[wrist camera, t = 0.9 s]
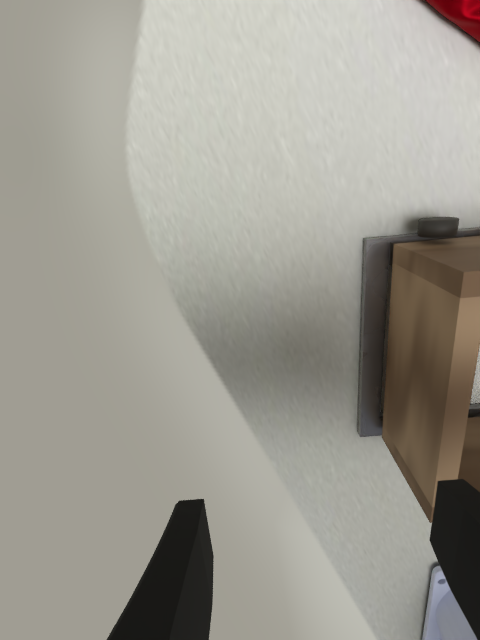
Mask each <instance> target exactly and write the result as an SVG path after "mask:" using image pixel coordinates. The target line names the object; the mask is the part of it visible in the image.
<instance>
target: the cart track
mask: <svg viewBox="0 0 480 640" xmlns="http://www.w3.org/2000/svg"><path fill="white" fill-rule="evenodd" d="M471 236H480V227H479V228H468V229H458V231H457V235H456V236H453V237H445V238H426V237H419V236H418V233H415V234H404V235H394V236H383V237H373V238H364V244H363V276H362V308H361V340H360V372H359V404H358V434H359V436H360V437H366V436H378V435H382V428H383V412H380V407H381V390H382V373H383V355H384V338H385V320H386V303H387V285H388V268H389V265H392V264H393V248H394V244H397V243H407V242H418V241H429V240H439V239H450V238H461V237H471ZM471 417H480V404H470V406H469V412H468V418H471Z"/></svg>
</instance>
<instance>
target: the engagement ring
mask: <svg viewBox="0 0 480 640" xmlns="http://www.w3.org/2000/svg"><path fill="white" fill-rule="evenodd" d="M426 1H427V2H428V3H429V4H430V5H431V6H433V7H434V8H435V9H436V10H437V11H438V12H439V13H441V14H442V15H443V16H444V17H446V18H447V19H449V20H450V21H452V22H454V23H455V24H456V25H458V26H459V27H460V28H461V29H462V30H464V31H465V32H467V33H468V34H469V35H471V36H472V37H474V38H475V39H476V40H477V41H479V42H480V0H426Z"/></svg>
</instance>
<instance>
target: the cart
mask: <svg viewBox="0 0 480 640" xmlns="http://www.w3.org/2000/svg"><path fill="white" fill-rule="evenodd" d="M458 222H459V218H454V217H432V218H424V219H420V220H419V223H418V236H419V237H426V238H445V237H453V236H456V235H457V231H458ZM479 345H480V236H471V237H461V238H450V239H439V240H429V241H418V242H407V243H397V244H394V248H393V264H392V281H391V297H390V313H389V330H388V346H387V362H386V379H385V395H384V411H383V428H382V438H383V440H384V442H385V444H386V446H387V447H388V449H389V451H390V453H391V454H392V456H393V458H394V460H395V461H396V463H397V465H398V467H399V469H400V470H401V472H402V474H403V476H404V477H405V479H406V481H407V483H408V484H409V486H410V488H411V490H412V492H413V493H414V495H415V497H416V499H417V500H418V502H419V504H420V506H421V507H422V509H423V511H424V513H425V514H426V516H427V518H428V520H429V522H430V523H432V520H433V513H434V505H435V498H436V491H437V484H438V481H442V480H455V479H464V480H465V481H467V482H468V483H469V484H470V485H472V486H473V487H474V488H475V489H477V490H478V491H479V492H480V417H471V418H468V412H469V406H470V400H471V394H472V388H473V382H474V376H475V369H476V363H477V357H478V351H479Z"/></svg>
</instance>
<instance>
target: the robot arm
mask: <svg viewBox="0 0 480 640" xmlns="http://www.w3.org/2000/svg"><path fill="white" fill-rule="evenodd" d="M430 542H431V545H432V547H433V550H434V552H435V555H436V557H437V559H438V562H439V564H440V565H439V566H436V567H435V568H434V569H433V571H432V576H431V583H430V590H429V597H428V603H427V610H426V617H425V624H424V631H423V637H422V640H480V492H479V491H478V490H477V489H475V488H474V487H473V486H472V485H470V484H469V483H468V482H467V481H465V480H464V479H455V480H442V481H438V484H437V491H436V498H435V505H434V513H433V520H432V527H431V535H430ZM212 594H213V551H212V545H211V539H210V533H209V528H208V522H207V516H206V510H205V504H204V499H196V500H184V501H179V502H178V503H177V504H176V505H175V508H174V510H173V512H172V515H171V517H170V520H169V522H168V524H167V527H166V529H165V531H164V533H163V535H162V537H161V539H160V542H159V544H158V546H157V548H156V550H155V552H154V554H153V556H152V558H151V560H150V562H149V564H148V566H147V568H146V570H145V572H144V574H143V576H142V577H141V579H140V581H139V583H138V585H137V587H136V589H135V591H134V593H133V595H132V596H131V598H130V600H129V602H128V604H127V606H126V607H125V609H124V611H123V613H122V614H121V616H120V618H119V619H118V621H117V623H116V625H115V626H114V628H113V630H112V632H111V633H110V635H109V637H108V638H107V640H209V631H210V622H211V612H212V597H213V595H212Z"/></svg>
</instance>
